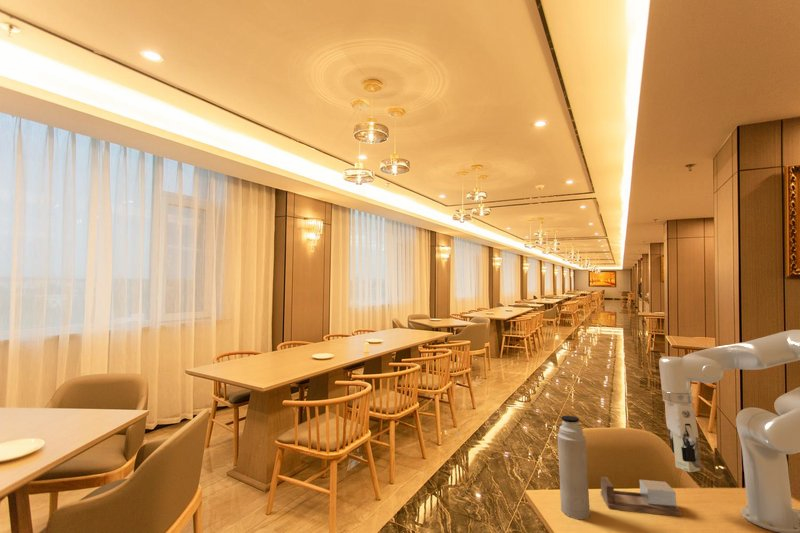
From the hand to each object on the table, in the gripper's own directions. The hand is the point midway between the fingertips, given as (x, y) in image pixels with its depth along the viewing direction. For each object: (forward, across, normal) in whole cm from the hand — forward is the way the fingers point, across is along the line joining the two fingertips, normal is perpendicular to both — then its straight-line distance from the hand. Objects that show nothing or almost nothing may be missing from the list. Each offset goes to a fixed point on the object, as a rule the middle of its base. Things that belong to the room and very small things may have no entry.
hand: (683, 456), depth 115 cm
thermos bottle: (+15, -8, +34) cm, 38 cm away
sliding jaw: (+14, 0, +8) cm, 17 cm away
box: (+4, 0, -1) cm, 4 cm away
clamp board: (+16, 0, +14) cm, 21 cm away
